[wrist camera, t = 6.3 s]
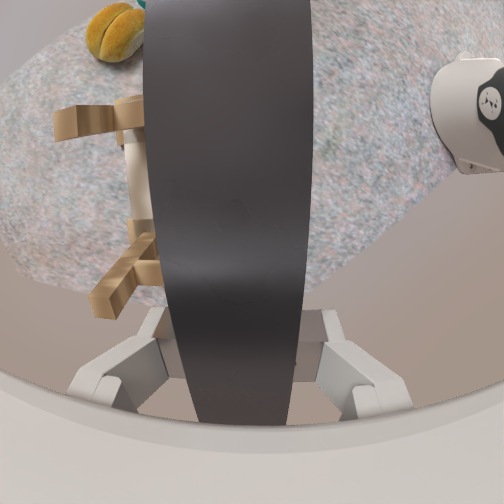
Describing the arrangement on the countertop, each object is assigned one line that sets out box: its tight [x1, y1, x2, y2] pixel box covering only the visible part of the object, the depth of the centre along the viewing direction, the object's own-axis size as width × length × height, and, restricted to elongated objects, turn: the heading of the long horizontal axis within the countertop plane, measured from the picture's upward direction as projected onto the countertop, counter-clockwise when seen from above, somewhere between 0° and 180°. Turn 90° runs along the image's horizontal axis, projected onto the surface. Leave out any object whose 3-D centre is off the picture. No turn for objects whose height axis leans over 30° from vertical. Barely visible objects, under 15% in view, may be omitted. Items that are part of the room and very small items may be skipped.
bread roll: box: [86, 3, 145, 63], centre depth 23 cm, size 8×9×4 cm
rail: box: [143, 0, 313, 426], centre depth 9 cm, size 3×20×3 cm, turn 1°
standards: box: [53, 95, 164, 320], centre depth 26 cm, size 11×22×16 cm, turn 1°
